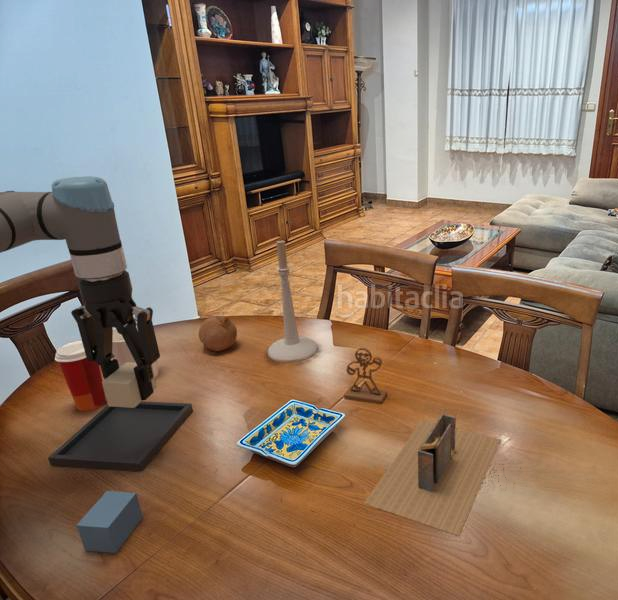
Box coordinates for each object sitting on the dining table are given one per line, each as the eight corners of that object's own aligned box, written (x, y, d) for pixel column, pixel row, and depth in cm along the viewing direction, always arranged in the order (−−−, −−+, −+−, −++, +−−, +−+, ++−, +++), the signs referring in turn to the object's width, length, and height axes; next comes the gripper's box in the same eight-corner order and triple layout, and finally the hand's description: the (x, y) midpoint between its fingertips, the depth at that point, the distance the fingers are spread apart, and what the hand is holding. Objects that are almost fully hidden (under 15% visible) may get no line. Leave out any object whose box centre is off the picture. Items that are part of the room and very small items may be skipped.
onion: (236, 356, 138) (248, 327, 134) (204, 361, 131) (215, 330, 127) (220, 335, 143) (231, 306, 139) (188, 338, 136) (198, 307, 132)
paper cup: (105, 390, 118) (89, 336, 112) (116, 403, 113) (100, 347, 107) (66, 404, 113) (48, 348, 107) (76, 418, 108) (57, 360, 102)
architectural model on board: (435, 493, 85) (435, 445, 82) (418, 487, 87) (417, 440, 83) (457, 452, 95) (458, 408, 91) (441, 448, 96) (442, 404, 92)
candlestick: (271, 341, 139) (256, 234, 128) (318, 337, 141) (308, 231, 129) (264, 364, 128) (248, 248, 116) (316, 360, 129) (305, 245, 117)
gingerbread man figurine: (343, 398, 113) (340, 350, 108) (350, 389, 116) (347, 341, 111) (382, 404, 110) (379, 354, 106) (387, 394, 114) (385, 346, 109)
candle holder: (150, 387, 119) (139, 341, 114) (109, 387, 119) (96, 341, 114) (169, 366, 128) (159, 322, 123) (130, 366, 128) (119, 323, 123)
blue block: (84, 550, 76) (75, 525, 74) (114, 514, 83) (106, 490, 81) (115, 553, 76) (107, 527, 74) (143, 517, 82) (136, 492, 80)
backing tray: (50, 465, 94) (47, 457, 93) (115, 406, 112) (113, 399, 111) (141, 471, 92) (139, 463, 91) (193, 410, 109) (191, 403, 109)
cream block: (108, 406, 90) (101, 381, 88) (132, 385, 96) (126, 362, 94) (134, 408, 89) (128, 383, 87) (157, 386, 96) (151, 363, 94)
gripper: (166, 268, 86) (190, 387, 95) (69, 265, 88) (101, 381, 97) (139, 283, 79) (168, 410, 88) (35, 280, 82) (73, 403, 90)
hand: (133, 395), depth 93 cm, fingers closed on cream block, 5 cm apart
